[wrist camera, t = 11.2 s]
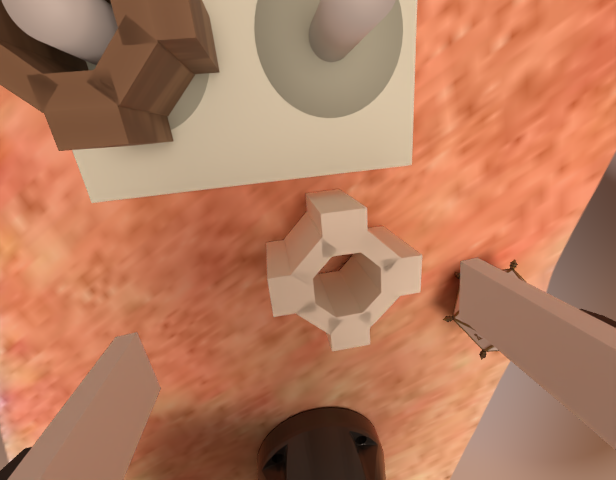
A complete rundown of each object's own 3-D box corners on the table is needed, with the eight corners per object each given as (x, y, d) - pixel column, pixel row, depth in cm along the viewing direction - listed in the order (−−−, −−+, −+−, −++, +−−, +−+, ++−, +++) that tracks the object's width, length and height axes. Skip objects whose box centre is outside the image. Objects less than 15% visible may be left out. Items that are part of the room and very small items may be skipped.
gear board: (400, 162, 25) (471, 176, 16) (106, 197, 22) (10, 234, 14) (406, -171, 18) (537, -450, 9) (-24, -175, 15) (-382, -563, 7)
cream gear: (383, 290, 29) (418, 335, 22) (276, 308, 28) (280, 361, 21) (382, 183, 25) (424, 200, 19) (259, 199, 24) (257, 222, 17)
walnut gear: (231, 135, 20) (215, 134, 14) (65, 152, 19) (-38, 160, 12) (194, -66, 16) (148, -202, 10) (-15, -60, 15) (-226, -209, 9)
